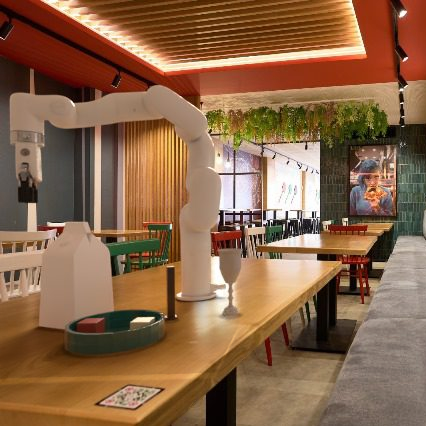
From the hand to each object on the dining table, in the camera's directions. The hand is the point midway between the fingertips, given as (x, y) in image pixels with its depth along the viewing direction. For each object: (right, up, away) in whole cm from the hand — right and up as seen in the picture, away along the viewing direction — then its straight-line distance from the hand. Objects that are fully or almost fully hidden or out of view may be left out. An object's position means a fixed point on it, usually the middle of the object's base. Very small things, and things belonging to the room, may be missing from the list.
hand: (28, 202), depth 109 cm
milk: (+18, -31, -8) cm, 37 cm away
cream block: (+40, -31, -20) cm, 55 cm away
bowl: (+35, -31, -21) cm, 51 cm away
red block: (+29, -31, -21) cm, 47 cm away
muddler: (+41, -31, -5) cm, 52 cm away
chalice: (+55, -31, 0) cm, 63 cm away
